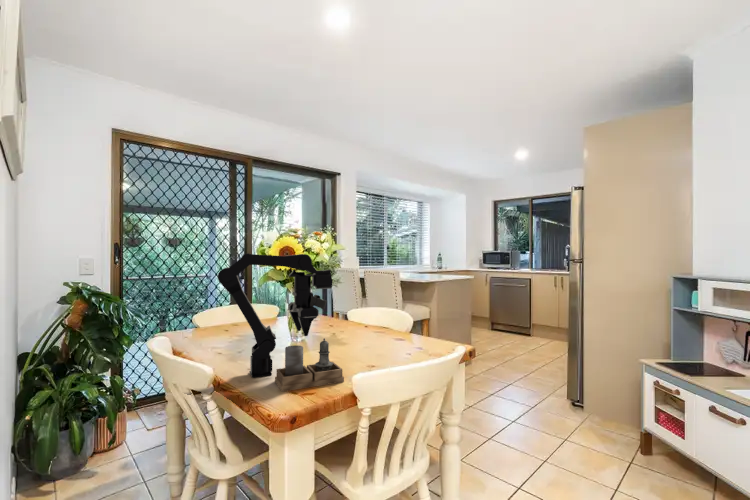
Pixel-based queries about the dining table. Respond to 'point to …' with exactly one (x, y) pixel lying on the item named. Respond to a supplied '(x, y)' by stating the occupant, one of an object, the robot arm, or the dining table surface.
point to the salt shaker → (324, 357)
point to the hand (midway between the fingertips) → (302, 333)
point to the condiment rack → (304, 372)
